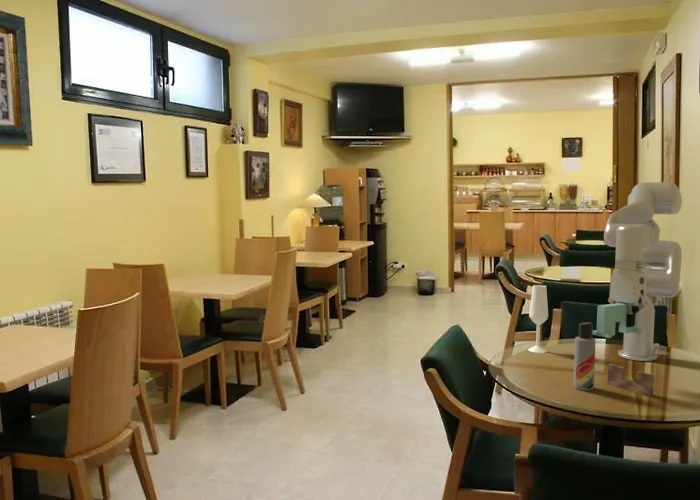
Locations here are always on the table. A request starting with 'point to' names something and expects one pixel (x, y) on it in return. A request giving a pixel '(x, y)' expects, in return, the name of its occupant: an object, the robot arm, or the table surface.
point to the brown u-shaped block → (640, 386)
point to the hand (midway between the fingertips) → (625, 325)
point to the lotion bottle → (584, 358)
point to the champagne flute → (538, 313)
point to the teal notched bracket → (613, 320)
